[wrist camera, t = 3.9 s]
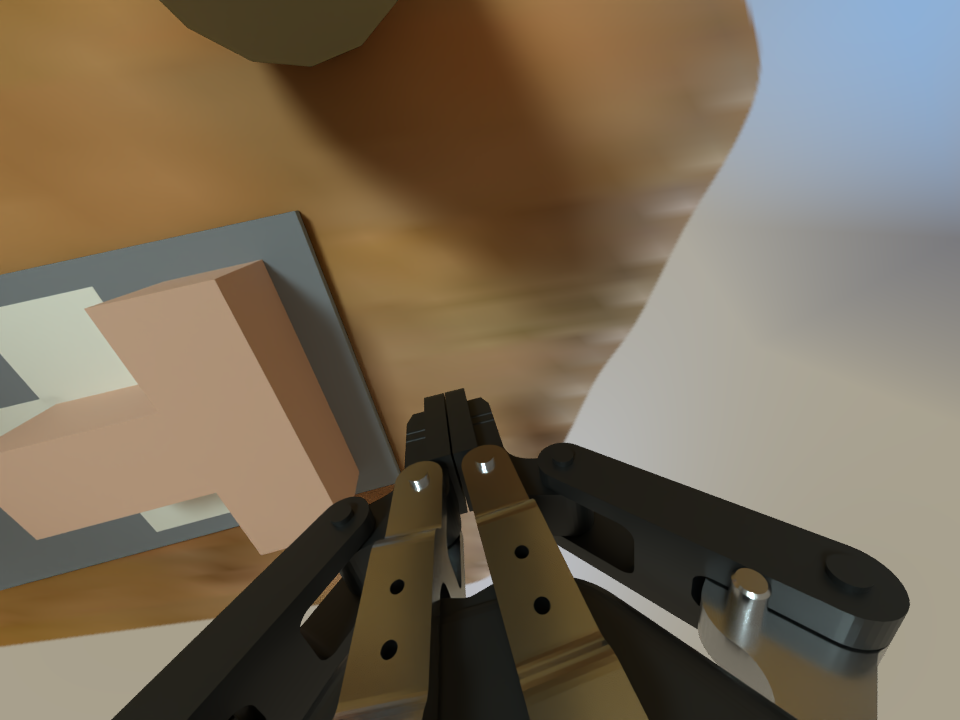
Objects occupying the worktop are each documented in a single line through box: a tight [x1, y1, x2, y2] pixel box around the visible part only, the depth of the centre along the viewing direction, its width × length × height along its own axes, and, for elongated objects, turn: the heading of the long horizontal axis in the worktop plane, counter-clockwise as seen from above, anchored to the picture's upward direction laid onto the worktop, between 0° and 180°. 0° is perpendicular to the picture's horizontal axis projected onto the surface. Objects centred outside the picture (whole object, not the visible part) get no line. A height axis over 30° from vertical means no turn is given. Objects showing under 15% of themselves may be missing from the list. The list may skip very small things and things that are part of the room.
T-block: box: [0, 260, 359, 555], centre depth 15 cm, size 12×11×4 cm
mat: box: [0, 211, 401, 590], centre depth 17 cm, size 15×23×1 cm, turn 101°
